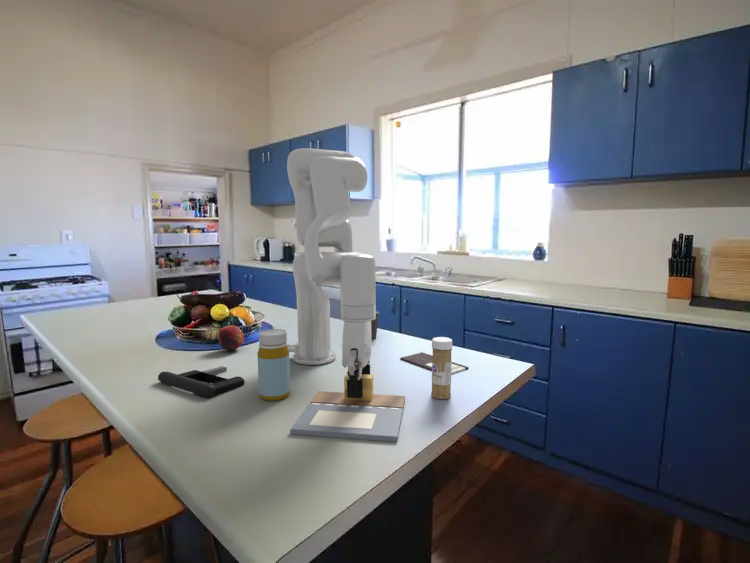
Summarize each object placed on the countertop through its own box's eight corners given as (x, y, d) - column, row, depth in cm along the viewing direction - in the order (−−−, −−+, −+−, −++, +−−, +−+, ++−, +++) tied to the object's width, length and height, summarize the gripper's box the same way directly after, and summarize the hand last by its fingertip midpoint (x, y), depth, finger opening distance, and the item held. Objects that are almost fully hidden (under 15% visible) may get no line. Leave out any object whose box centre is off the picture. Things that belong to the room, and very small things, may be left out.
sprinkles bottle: (427, 396, 94) (427, 338, 93) (439, 390, 97) (440, 335, 96) (443, 401, 91) (444, 342, 89) (455, 396, 94) (456, 338, 92)
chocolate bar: (422, 352, 127) (468, 367, 113) (422, 355, 127) (468, 370, 113) (400, 357, 121) (446, 374, 107) (400, 360, 121) (446, 377, 107)
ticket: (290, 434, 77) (290, 428, 76) (310, 407, 88) (309, 402, 88) (397, 441, 74) (397, 436, 74) (402, 412, 85) (402, 407, 85)
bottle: (274, 404, 90) (272, 337, 88) (252, 397, 94) (249, 333, 92) (296, 393, 96) (294, 330, 94) (275, 387, 100) (273, 327, 98)
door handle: (209, 359, 115) (152, 373, 102) (258, 372, 105) (203, 389, 91) (209, 371, 116) (152, 386, 102) (258, 385, 105) (203, 403, 92)
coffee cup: (362, 342, 141) (362, 313, 139) (353, 336, 148) (353, 309, 147) (383, 339, 144) (383, 311, 143) (374, 334, 151) (374, 307, 150)
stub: (310, 405, 89) (309, 379, 88) (318, 394, 95) (317, 370, 94) (402, 411, 86) (403, 384, 85) (405, 399, 92) (405, 374, 91)
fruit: (248, 347, 135) (247, 323, 134) (238, 354, 127) (236, 328, 126) (225, 346, 136) (224, 323, 135) (214, 353, 128) (212, 328, 127)
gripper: (349, 305, 97) (350, 375, 99) (331, 319, 80) (332, 403, 82) (381, 305, 96) (381, 376, 98) (368, 320, 79) (369, 405, 81)
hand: (359, 388), depth 90 cm, fingers open, 9 cm apart
